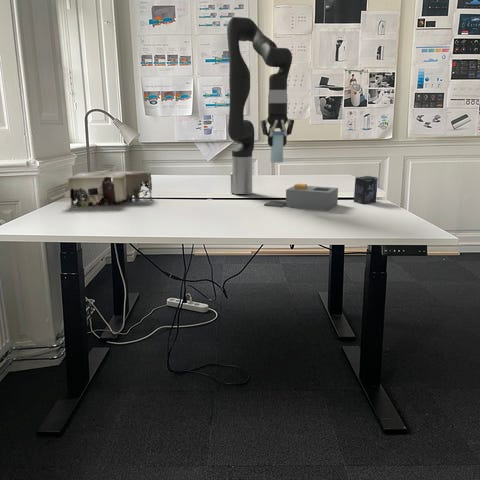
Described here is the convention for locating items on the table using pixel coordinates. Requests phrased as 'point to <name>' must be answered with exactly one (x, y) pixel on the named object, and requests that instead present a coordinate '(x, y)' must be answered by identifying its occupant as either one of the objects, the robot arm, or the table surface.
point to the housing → (312, 197)
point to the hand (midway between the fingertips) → (277, 145)
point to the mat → (275, 204)
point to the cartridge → (277, 147)
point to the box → (365, 189)
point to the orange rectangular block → (300, 186)
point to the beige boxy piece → (108, 187)
